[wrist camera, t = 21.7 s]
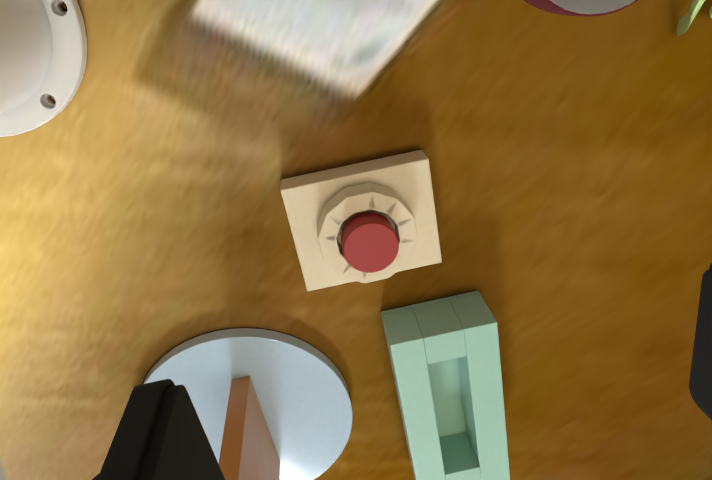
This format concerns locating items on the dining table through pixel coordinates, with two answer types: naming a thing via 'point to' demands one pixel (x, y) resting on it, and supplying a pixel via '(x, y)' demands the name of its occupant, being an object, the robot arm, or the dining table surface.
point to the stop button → (369, 242)
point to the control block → (356, 196)
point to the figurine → (690, 16)
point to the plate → (267, 393)
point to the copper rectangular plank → (247, 437)
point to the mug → (581, 6)
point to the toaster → (449, 387)
